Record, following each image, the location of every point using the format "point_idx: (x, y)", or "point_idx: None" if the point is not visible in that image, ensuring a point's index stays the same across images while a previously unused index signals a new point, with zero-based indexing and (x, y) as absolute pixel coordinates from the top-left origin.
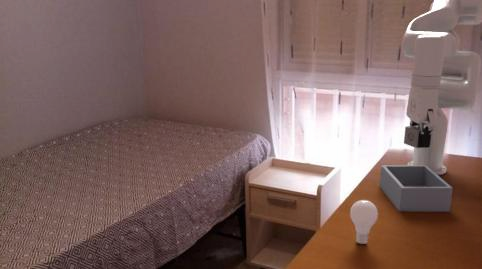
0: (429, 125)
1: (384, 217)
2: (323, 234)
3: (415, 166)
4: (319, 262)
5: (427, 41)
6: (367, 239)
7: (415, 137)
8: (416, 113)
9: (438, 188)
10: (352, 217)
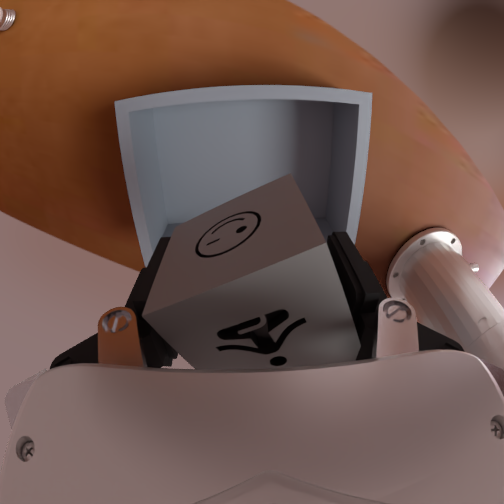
0: (23, 395)
1: (108, 53)
2: None
3: (347, 220)
4: None
5: None
6: (3, 29)
7: (180, 258)
8: (75, 488)
9: (135, 226)
10: None
